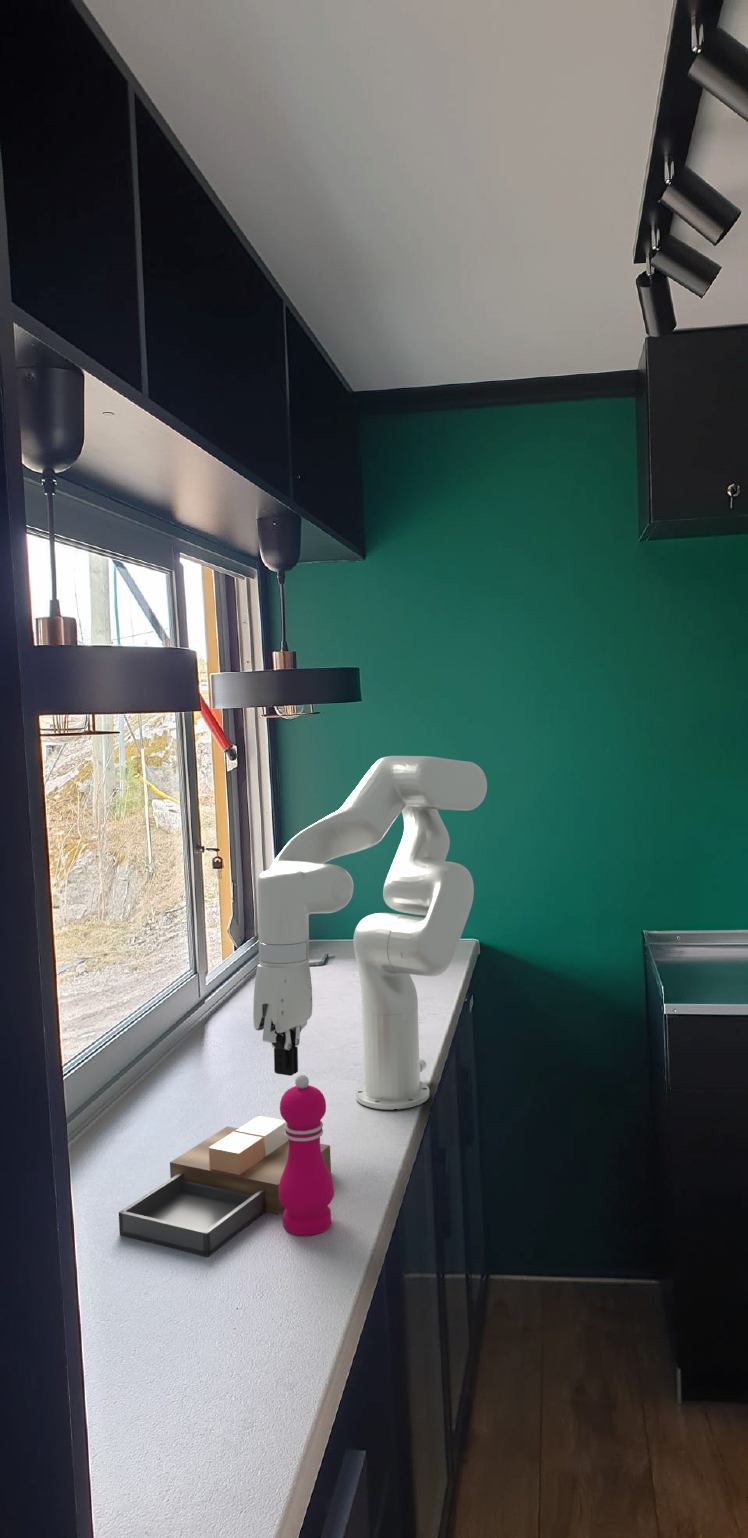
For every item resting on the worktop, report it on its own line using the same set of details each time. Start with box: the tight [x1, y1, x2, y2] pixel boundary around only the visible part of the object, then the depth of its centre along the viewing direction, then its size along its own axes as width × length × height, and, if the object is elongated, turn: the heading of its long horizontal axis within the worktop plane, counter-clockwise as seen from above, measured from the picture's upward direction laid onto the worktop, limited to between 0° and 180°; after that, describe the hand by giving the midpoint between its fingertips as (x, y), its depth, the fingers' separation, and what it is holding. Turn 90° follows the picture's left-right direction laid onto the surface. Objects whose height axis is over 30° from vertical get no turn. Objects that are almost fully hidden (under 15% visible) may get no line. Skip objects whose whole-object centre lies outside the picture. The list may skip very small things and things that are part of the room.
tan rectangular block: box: [209, 1132, 264, 1175], centre depth 156 cm, size 6×5×3 cm
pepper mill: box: [279, 1074, 335, 1237], centre depth 145 cm, size 7×7×20 cm
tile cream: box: [236, 1115, 288, 1157], centre depth 161 cm, size 6×5×3 cm
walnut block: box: [169, 1126, 332, 1215], centre depth 159 cm, size 14×18×4 cm
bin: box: [118, 1172, 266, 1258], centre depth 147 cm, size 13×14×3 cm
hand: (286, 1072), depth 167 cm, fingers closed
